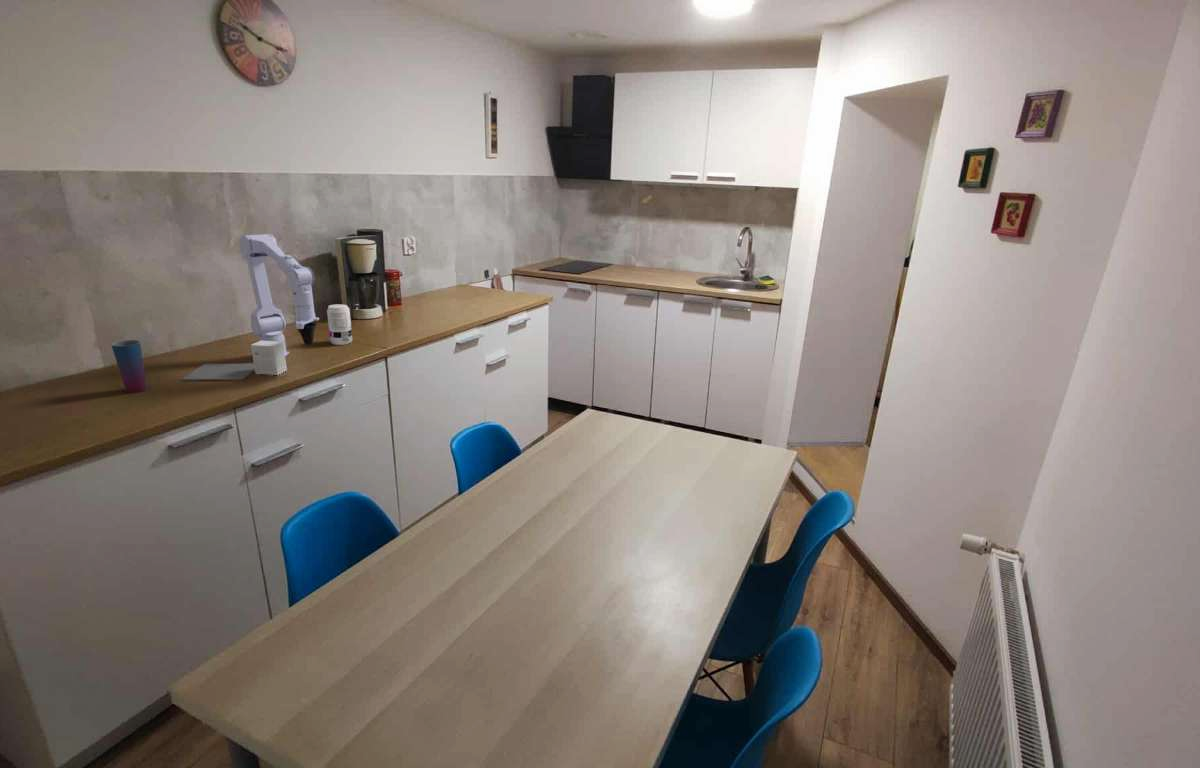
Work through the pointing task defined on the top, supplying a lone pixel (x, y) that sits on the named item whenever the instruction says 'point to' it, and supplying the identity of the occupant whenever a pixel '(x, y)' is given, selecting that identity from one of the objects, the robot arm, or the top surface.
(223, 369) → the display mat
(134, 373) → the cup
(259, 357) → the small box
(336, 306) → the supplement can
